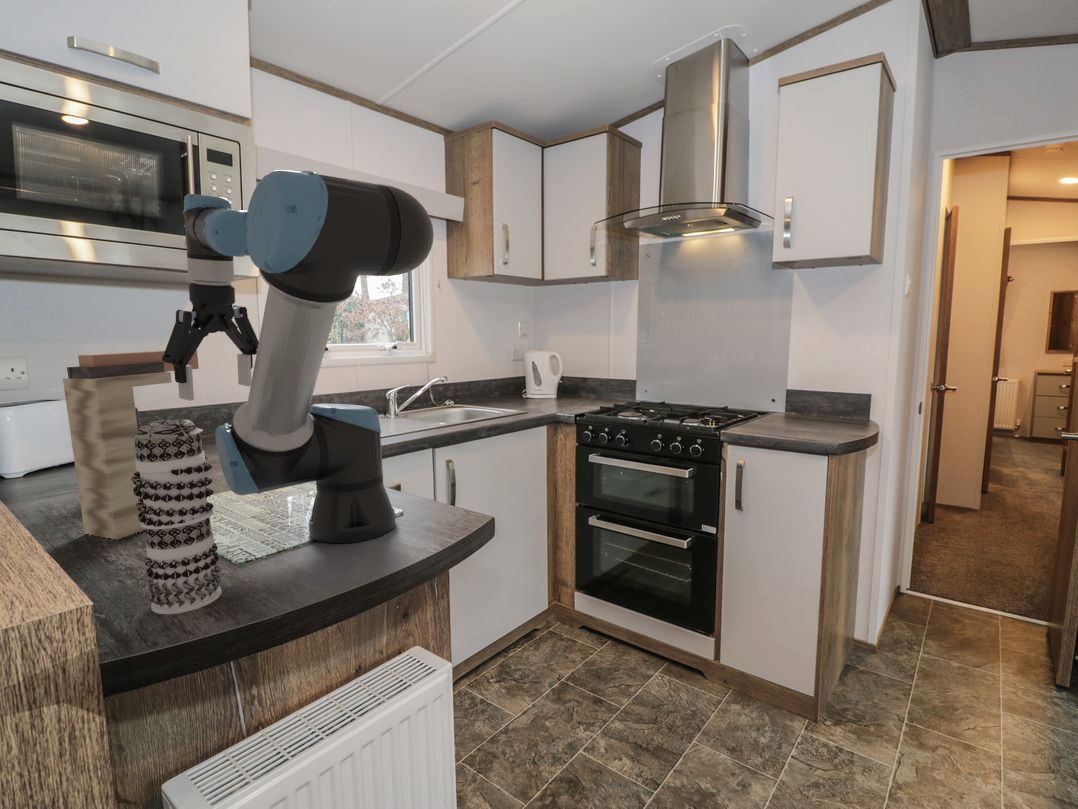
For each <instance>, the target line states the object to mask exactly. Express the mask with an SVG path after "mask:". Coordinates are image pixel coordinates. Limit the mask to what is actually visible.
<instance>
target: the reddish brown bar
mask: <svg viewBox="0 0 1078 809" xmlns="http://www.w3.org/2000/svg"><path fill="white" fill-rule="evenodd" d="M164 352H165V350H149V351H132V352H116V353H115V352H114V353H98V354H97V353H96V354H78V355H77V359H78V365H79V367H99V366H113V365H126V364H140V363H153V362H163V361H162V358H163V355H164ZM187 365H190V366H192V370H198V369H200V368H199V359H198V349H197V350H196V351H195V353H194V354H193V356H192V358H191V359H190V361H189V362H188V364H187ZM164 370H165V372H174V365H173V364H170V363H165V362H164Z"/></svg>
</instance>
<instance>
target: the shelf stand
mask: <svg viewBox="0 0 1078 809" xmlns="http://www.w3.org/2000/svg"><path fill="white" fill-rule="evenodd" d="M66 371H67V377H63V378H62V382H63V389H64V390H63V391H64V396H65V402H66V411H67V417H68V418H67V420H68V424H69V432H70V439H71V446H72V452H73V453H72V454H73V461H74V469H75V474H76V481H77V490H78V496H79V503H80V510H81V517H82V523H83V531H84V535H85V534H89V535H88V536H91V535H94V536H93V537H97V536H98V538H103V537H105V538H104V539H108V538H111V539H110V540H114V539H116V541H118V539H119V540H122V539H124V538H123V537H125V538H127V537H130V536H132V535H131V534H133V535H135V534H134V533H136V534H138V533H137V532H139V533H141V531H142V532H144V531H143V530H145V531H146V528H143V527H141V522H140V521H139V517H138V514H139V513H140V512H141V511H139V510H138V507H137V506H136V504H137V502H138V500H139V499H140V497H138V496H135V495H134V491H133V488H134V487H136V485H135V484H134V483H133V481H132V480H131V478H132V477H133V474H134V473H135V472H137V470H136V462H135V459H136V458H137V456H136V449H135V441H134V439H131V437H132V436H134V435H136V434H137V432H138V427H137V419H136V411H135V407H136V405H135V404H136V403H135V396H134V389H133V388H134V387H142V386H143V387H144V386H152V385H161V384H169V383H173V382H172V381H173V380H172V373H171V372H172V371H168V372H165V370H164V362H153V363H140V364H126V365H113V366H99V367H79V366H69V367H68V366H67V367H66ZM140 490H141V491H142V489H140ZM144 515H145V514H144ZM129 535H130V536H129ZM99 536H100V537H99ZM126 536H127V537H126ZM121 538H122V539H121Z"/></svg>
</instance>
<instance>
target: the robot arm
mask: <svg viewBox="0 0 1078 809" xmlns="http://www.w3.org/2000/svg"><path fill="white" fill-rule="evenodd" d="M182 215H183V217H184V230H185V242H186V244H185V245H186V259H187V260H186V262H187V263H186V264H187V276H188V277H187V278H188V279H189V280H190V282H189V283H188V295H189V298H188V299H189V301H190V303H191V305H192V310H191V311H189V310H183V309H177V310H176V311H175V323H174V325H173V328H172V330H171V334H170V337H169V339H168V341H167V345H166V347H165V350H164V351H165V352H164V355H163V358H162V361H163V362H165V363H170V364H173V365H174V371H173V374H174V380H175V381H174V382H176V383H177V384H178V385H177V386H178V395H179V396H178V398H179V399H182V400H186V401H189V402H191V401H194V400H195V395H194V380H193V369H192V366H190V365H187V364H188V362H189V361H190V359H191V358H192V356H193V354H194V353H195V351H196V350H197V351H198V347H200V345H201V343H202V342H203V340H204V339H205V337H207V336H208V335H209V334H216V333H218V332H220V333H223V332H224V333H225V334H226V336H228V338H229V339H230V340H231V341H232V344H234V345H235V347H236V348H237V349H238V350H239V353H236V357H237V359H236V360H237V361H236V362H237V380H238V382H237V383H238V385H240V386H244V387H250V388H249V392H248V393H249V394H248V398H247V401H246V402H244V403H243V404H241V405H240V406H239V407H238V408H237V409H236V410H235V412H234V415H233V419H232V423H229V422H227V423H223V425H222V424H221V425H218V426H217V427H216V429H215V433H214V434H215V445H216V451H217V456H218V460H219V464H220V468H221V471H222V474H223V477H224V479H225V481H226V484H227V486H228V488H229V489H230V491H231V492H232V493H234V494H236V495H237V496H246V495H253V494H254V495H255V494H258V495H260V494H262V493H267V492H271V491H275V490H280V489H284V488H288V487H294V486H298V485H302V484H307V483H311V482H312V483H313V482H315V486H316V493H315V498H314V502H313V505H312V509H311V516H310V518H309V520H308V528H309V529H308V530H309V537H310V538H311V537H312V538H311V539H313V540H314V541H317V542H320V543H326V544H328V543H329V544H350V543H355V542H356V543H357V542H362V541H367V540H371V539H374V538H378V537H380V536H383V535H385V534H387V533H389V532H391V531H392V530H393V529H394V528H395V526H396V513H395V510H394V508H393V506H392V503H391V501H390V498H389V495H388V493H387V490H386V488H385V484H384V475H383V474H384V473H383V472H384V471H383V458H382V457H383V456H382V441H381V440H382V437H381V433H382V430H381V424H380V418H379V413H378V411H377V410H376V409H375V408H373V407H371V406H366V405H358V404H347V403H345V404H344V403H314V404H311V402H312V398H313V395H314V391H315V389H316V384H317V381H318V376H319V373H320V370H321V366H322V362H323V358H324V355H325V351H326V347H327V343H328V341H329V336H330V332H331V329H332V325H333V322H334V317H335V315H336V310H337V307H338V304H341V303H342V302H346V301H347V300H348V299H349V298H350V297H352V295H353V292H354V290H355V286H356V283H357V280H358V277H359V276H364V277H365V276H367V277H369V276H370V277H391V276H400V275H403V274H406V273H407V274H408V273H409V272H412V271H413V270H415V269H417V268H418V267H420V266H421V265H422V264H423V263H424V262H425V260H426V259H427V258H428V257H429V254H430V252H431V251H432V247H433V244H434V226H433V223H432V219H431V216H430V215H429V213H428V211H427V210H426V208H425V207H424V205H423V204H421V202H420V201H419V200H418V199H416V198H415V197H414V196H413V195H412V194H410V193H408V192H406V191H405V190H403V189H402V188H398V187H395V186H393V185H387V184H382V183H373V182H366V181H361V180H355V179H347V178H343V177H336V176H330V175H325V174H319V173H317V172H313V171H310V170H301V171H295V170H285V169H277V170H273V171H271V172H269V173H268V174H266V175H264V176H263V177H262V178H261V179H260V180H259V182H258V183H257V185H256V186H255V188H254V190H253V192H252V195H251V197H250V201H249V203H248V208H247V210H240V209H236V208H232V204H231V201H230V200H229V199H228V198H227V197H222V196H221V197H220V196H212V195H205V194H194V193H188V194H186V195H185V196H184V200H183V211H182ZM242 256H247V257H250V260H251V262H252V263H253V265H254V266H255V267H256V268H257V269H258V272H259V274H260V276H261V278H262V279H263V280H264V282H265V283H266V284H267V285H268V291H267V294H266V300H265V305H264V306H265V307H264V312H263V317H262V323H261V328H260V334H259V338H258V337H257V335H256V332H255V330H254V328H253V326H252V323H251V321H250V319H249V316H248V310H247V309H248V308H247V307H246V306H242V305H234V304H235V303H236V289H235V288H236V287H235V286H234V284H232V283H233V282H235V266H234V257H237V258H238V257H242ZM233 319H234V321H235V322H234V321H233ZM235 323H236V324H235ZM254 356H255V360H254V361H253V357H254ZM253 362H254V364H253ZM252 369H253V372H252Z"/></svg>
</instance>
